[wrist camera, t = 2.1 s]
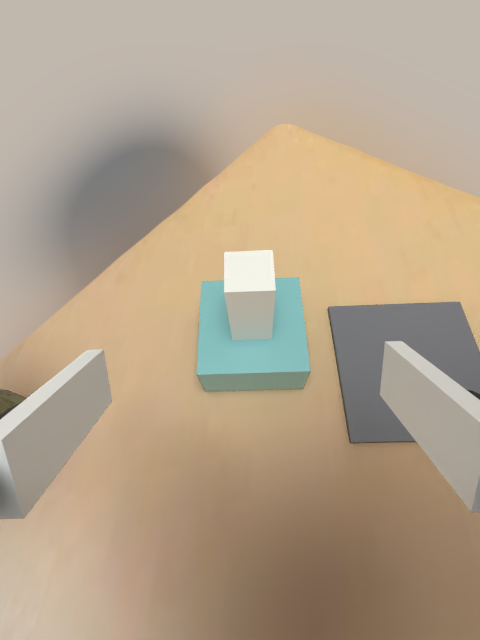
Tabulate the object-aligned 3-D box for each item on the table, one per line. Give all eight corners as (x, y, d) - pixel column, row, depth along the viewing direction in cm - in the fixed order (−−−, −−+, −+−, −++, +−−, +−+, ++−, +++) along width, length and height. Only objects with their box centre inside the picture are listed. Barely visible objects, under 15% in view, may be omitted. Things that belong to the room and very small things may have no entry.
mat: (457, 304, 40) (459, 301, 40) (509, 439, 33) (513, 438, 32) (327, 309, 41) (328, 306, 40) (350, 442, 33) (351, 442, 33)
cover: (293, 304, 41) (310, 217, 28) (302, 388, 36) (328, 329, 23) (208, 308, 42) (185, 223, 29) (205, 391, 37) (175, 334, 24)
